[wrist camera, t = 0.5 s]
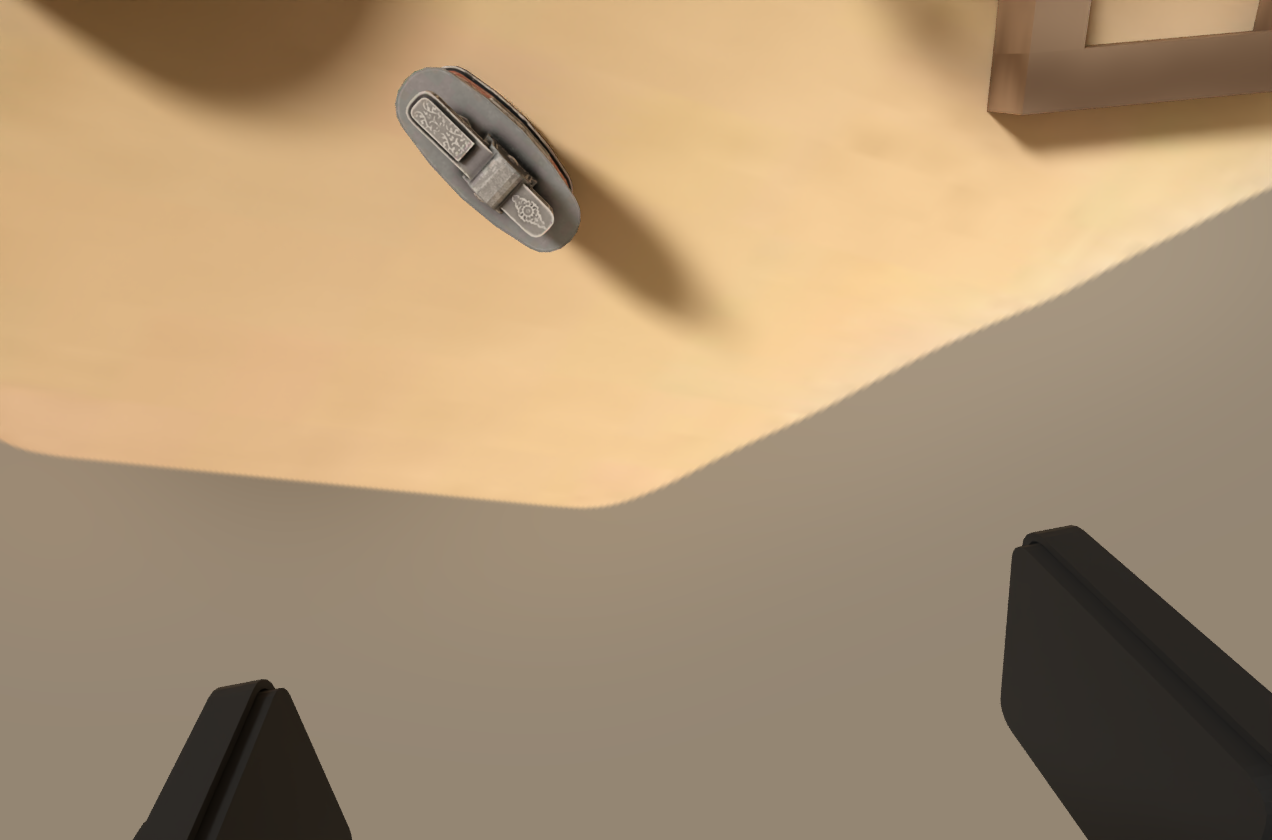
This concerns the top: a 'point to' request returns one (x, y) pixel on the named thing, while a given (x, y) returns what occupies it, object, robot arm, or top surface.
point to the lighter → (489, 155)
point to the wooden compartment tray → (1115, 62)
